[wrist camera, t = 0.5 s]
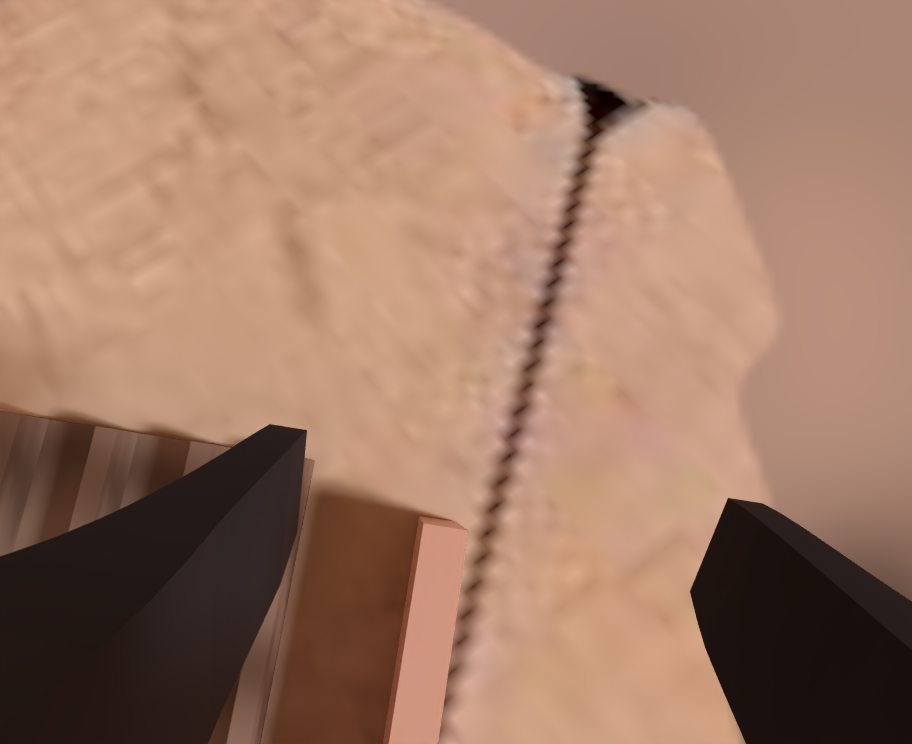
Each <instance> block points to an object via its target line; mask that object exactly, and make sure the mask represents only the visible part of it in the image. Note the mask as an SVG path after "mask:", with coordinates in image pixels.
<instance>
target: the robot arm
mask: <svg viewBox="0 0 912 744" xmlns="http://www.w3.org/2000/svg"><path fill="white" fill-rule="evenodd" d="M306 435H307V430H302V429H296V428H290V427H284V426H278V425H271V424H270V425H268V426H266V427H264V428H263V429H261V430H259V431H258V432H256V433H254V434H253V435H251V436H250V437H248V438H246V439H245V440H243V441H242V442H240V443H238V444H237V445H235V446H234V447H232V448H230V449H229V450H227V451H226V452H224V453H222V454H221V455H219V456H217V457H216V458H214V459H212V460H211V461H209V462H207V463H206V464H204V465H202V466H200V467H199V468H197V469H195V470H194V471H192V472H190V473H189V474H187V475H185V476H183V477H181V478H179V479H177V480H176V481H174V482H172V483H170V484H168V485H166V486H164V487H162V488H160V489H159V490H157V491H155V492H153V493H151V494H149V495H147V496H145V497H143V498H141V499H140V500H138V501H136V502H134V503H132V504H130V505H128V506H126V507H124V508H121V509H119V510H117V511H115V512H113V513H111V514H108V515H106V516H104V517H102V518H100V519H97V520H95V521H93V522H90V523H88V524H85V525H83V526H81V527H78V528H76V529H73V530H71V531H69V532H66V533H64V534H61V535H59V536H56V537H54V538H51V539H49V540H46V541H43V542H40V543H37V544H35V545H32V546H29V547H26V548H23V549H20V550H17V551H14V552H11V553H9V554H6V555H3V556H0V744H208V742H209V740H210V737H211V735H212V733H213V730H214V728H215V725H216V723H217V721H218V718H219V716H220V714H221V711H222V709H223V707H224V705H225V703H226V700H227V698H228V696H229V694H230V692H231V690H232V688H233V686H234V683H235V681H236V679H237V677H238V675H239V673H240V671H241V668H242V666H243V664H244V662H245V660H246V658H247V656H248V654H249V651H250V649H251V647H252V645H253V643H254V641H255V639H256V636H257V634H258V632H259V630H260V628H261V626H262V624H263V621H264V619H265V617H266V615H267V613H268V611H269V608H270V606H271V604H272V602H273V600H274V598H275V595H276V593H277V591H278V589H279V587H280V584H281V581H282V578H283V575H284V572H285V569H286V566H287V563H288V560H289V557H290V554H291V550H292V547H293V544H294V541H295V538H296V535H297V530H298V520H299V509H300V499H301V488H302V478H303V467H304V457H305V446H306ZM690 593H691V597H692V601H693V605H694V609H695V613H696V617H697V621H698V625H699V628H700V632H701V635H702V638H703V642H704V645H705V648H706V651H707V653H708V656H709V658H710V661H711V663H712V666H713V668H714V670H715V673H716V675H717V677H718V680H719V682H720V685H721V687H722V689H723V692H724V694H725V696H726V699H727V701H728V703H729V706H730V708H731V710H732V712H733V715H734V717H735V719H736V722H737V724H738V726H739V729H740V731H741V733H742V735H743V738H744V740H745V742H746V744H912V602H911V601H910V600H908V599H907V598H905V597H904V596H902V595H901V594H899V593H898V592H896V591H895V590H893V589H892V588H890V587H889V586H888V585H886V584H884V583H883V582H882V581H880V580H879V579H877V578H876V577H874V576H873V575H871V574H870V573H868V572H867V571H865V570H864V569H863V568H861V567H860V566H858V565H857V564H855V563H854V562H852V561H851V560H850V559H848V558H847V557H845V556H843V555H842V554H841V553H839V552H838V551H837V550H835V549H833V548H832V547H831V546H829V545H828V544H826V543H825V542H823V541H822V540H821V539H819V538H818V537H816V536H815V535H813V534H812V533H810V532H809V531H807V530H806V529H804V528H803V527H801V526H800V525H798V524H797V523H795V522H793V521H792V520H790V519H789V518H787V517H786V516H784V515H782V514H781V513H779V512H777V511H776V510H774V509H772V508H770V507H768V506H766V505H764V504H762V503H756V502H750V501H743V500H737V499H731V498H728V500H727V502H726V505H725V507H724V509H723V512H722V514H721V517H720V519H719V522H718V524H717V527H716V529H715V532H714V534H713V536H712V539H711V541H710V544H709V546H708V549H707V551H706V554H705V556H704V559H703V561H702V563H701V566H700V568H699V571H698V573H697V576H696V578H695V581H694V583H693V586H692V588H691V590H690Z"/></svg>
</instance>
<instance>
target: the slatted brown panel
mask: <svg viewBox="0 0 912 744" xmlns="http://www.w3.org/2000/svg"><path fill="white" fill-rule="evenodd" d="M229 449H230V447H224V446H219V445H214V444H208V443H201V442H195V441H185V440H179V439H173V438H166V437H160V436H153V435H147V434H141V433H135V432H129V431H124V430H118V429H112V428H105V427H99V426H89V425H83V424H77V423H70V422H64V421H57V420H51V419H45V418H39V417H34V416H28V415H22V414H16V413H9V412H3V411H0V556H3V555H6V554H9V553H11V552H14V551H17V550H20V549H23V548H26V547H29V546H32V545H35V544H37V543H40V542H43V541H46V540H49V539H51V538H54V537H56V536H59V535H61V534H64V533H66V532H69V531H71V530H73V529H76V528H78V527H81V526H83V525H85V524H88V523H90V522H93V521H95V520H97V519H100V518H102V517H104V516H106V515H108V514H111V513H113V512H115V511H117V510H119V509H121V508H124V507H126V506H128V505H130V504H132V503H134V502H136V501H138V500H140V499H141V498H143V497H145V496H147V495H149V494H151V493H153V492H155V491H157V490H159V489H160V488H162V487H164V486H166V485H168V484H170V483H172V482H174V481H176V480H177V479H179V478H181V477H183V476H185V475H187V474H189V473H190V472H192V471H194V470H195V469H197V468H199V467H200V466H202V465H204V464H206V463H207V462H209V461H211V460H212V459H214V458H216V457H217V456H219V455H221V454H222V453H224V452H226V451H227V450H229ZM314 462H315V461H313V460H309V459H304V467H303V478H302V488H301V499H300V509H299V520H298V530H297V535H296V538H295V541H294V544H293V547H292V550H291V554H290V557H289V560H288V563H287V566H286V569H285V572H284V575H283V578H282V581H281V584H280V587H279V589H278V591H277V593H276V595H275V598H274V600H273V602H272V604H271V606H270V608H269V611H268V613H267V615H266V617H265V619H264V621H263V624H262V626H261V628H260V630H259V632H258V634H257V636H256V639H255V641H254V643H253V645H252V647H251V649H250V651H249V654H248V656H247V658H246V660H245V662H244V664H243V666H242V668H241V671H240V673H239V675H238V677H237V679H236V681H235V683H234V686H233V688H232V690H231V692H230V694H229V696H228V698H227V700H226V703H225V705H224V707H223V709H222V711H221V714H220V716H219V718H218V721H217V723H216V725H215V728H214V730H213V733H212V735H211V737H210V740H209V742H208V744H260V741H261V736H262V731H263V726H264V720H265V715H266V710H267V705H268V700H269V695H270V689H271V684H272V679H273V674H274V669H275V663H276V658H277V653H278V648H279V643H280V638H281V632H282V627H283V622H284V617H285V612H286V607H287V601H288V596H289V591H290V586H291V581H292V575H293V570H294V565H295V560H296V555H297V550H298V544H299V539H300V534H301V529H302V524H303V519H304V513H305V508H306V503H307V498H308V493H309V487H310V482H311V477H312V472H313V467H314Z"/></svg>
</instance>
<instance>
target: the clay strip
mask: <svg viewBox="0 0 912 744" xmlns="http://www.w3.org/2000/svg"><path fill="white" fill-rule="evenodd" d="M468 532H469V530H467V529H466V528H464V527H463V526H462V525H460V524H459V523H457V522H455V521H448V520H442V519H435V518H429V517H422V516H419V520H418V526H417V532H416V538H415V545H414V551H413V557H412V563H411V570H410V576H409V582H408V588H407V595H406V601H405V607H404V614H403V620H402V626H401V632H400V639H399V645H398V651H397V657H396V664H395V670H394V676H393V682H392V689H391V695H390V701H389V707H388V714H387V720H386V726H385V733H384V739H383V744H438V739H439V732H440V725H441V718H442V711H443V705H444V698H445V691H446V684H447V677H448V670H449V663H450V656H451V649H452V642H453V635H454V629H455V622H456V615H457V608H458V601H459V594H460V587H461V580H462V573H463V566H464V559H465V552H466V546H467V539H468Z"/></svg>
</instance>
